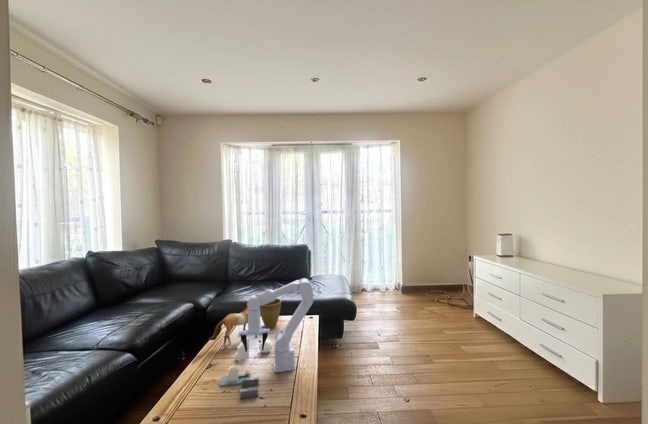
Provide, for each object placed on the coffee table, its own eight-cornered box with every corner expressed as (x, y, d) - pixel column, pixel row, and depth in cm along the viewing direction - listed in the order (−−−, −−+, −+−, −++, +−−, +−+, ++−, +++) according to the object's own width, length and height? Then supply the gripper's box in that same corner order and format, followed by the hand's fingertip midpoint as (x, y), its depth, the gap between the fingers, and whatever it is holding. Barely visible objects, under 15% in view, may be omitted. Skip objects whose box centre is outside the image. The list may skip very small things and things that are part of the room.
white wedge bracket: (255, 349, 159) (248, 337, 156) (242, 365, 153) (234, 353, 149) (251, 347, 162) (244, 335, 158) (237, 363, 155) (230, 351, 152)
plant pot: (274, 319, 208) (273, 296, 208) (285, 326, 197) (285, 301, 197) (254, 325, 199) (254, 301, 199) (265, 332, 187) (265, 306, 187)
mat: (251, 374, 139) (251, 373, 139) (250, 382, 132) (250, 381, 132) (221, 377, 137) (221, 376, 137) (219, 386, 130) (219, 385, 130)
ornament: (267, 356, 156) (258, 345, 156) (262, 355, 162) (254, 345, 162) (276, 346, 160) (267, 335, 160) (271, 346, 166) (263, 336, 166)
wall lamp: (249, 374, 138) (249, 363, 138) (248, 379, 134) (248, 367, 134) (229, 376, 136) (229, 365, 136) (228, 381, 133) (228, 369, 132)
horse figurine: (257, 332, 187) (257, 299, 187) (264, 336, 182) (264, 302, 182) (208, 348, 166) (208, 311, 166) (214, 353, 160) (214, 315, 160)
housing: (258, 383, 132) (258, 376, 132) (258, 397, 122) (258, 389, 122) (242, 385, 131) (242, 378, 131) (240, 399, 121) (240, 391, 121)
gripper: (237, 326, 138) (238, 355, 138) (269, 323, 141) (270, 352, 141) (239, 320, 145) (239, 348, 145) (269, 318, 148) (269, 345, 148)
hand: (254, 349), depth 143 cm, fingers open, 7 cm apart
